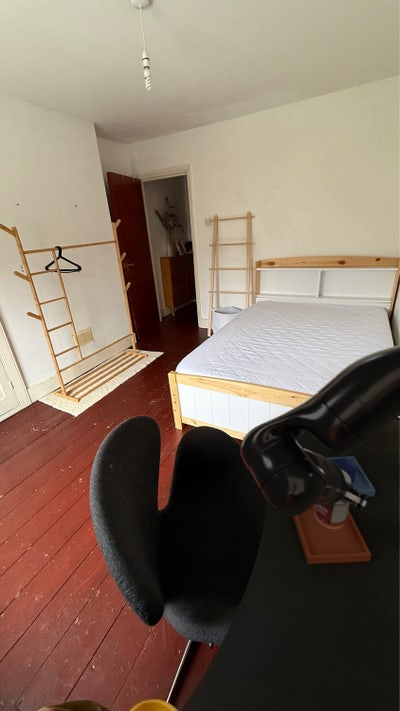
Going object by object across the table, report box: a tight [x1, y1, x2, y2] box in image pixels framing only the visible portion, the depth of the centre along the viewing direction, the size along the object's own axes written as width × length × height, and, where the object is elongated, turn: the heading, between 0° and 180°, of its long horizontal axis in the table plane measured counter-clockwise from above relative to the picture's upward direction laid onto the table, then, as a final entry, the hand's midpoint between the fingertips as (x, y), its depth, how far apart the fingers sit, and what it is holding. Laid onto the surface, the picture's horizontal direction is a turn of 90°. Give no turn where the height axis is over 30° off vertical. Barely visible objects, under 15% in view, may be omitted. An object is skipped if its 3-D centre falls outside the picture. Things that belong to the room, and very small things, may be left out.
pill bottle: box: [314, 470, 351, 529], centre depth 59 cm, size 6×6×11 cm
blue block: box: [332, 456, 357, 483], centre depth 76 cm, size 4×4×4 cm
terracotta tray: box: [292, 506, 372, 565], centre depth 64 cm, size 12×12×2 cm
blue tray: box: [326, 455, 376, 497], centre depth 76 cm, size 11×11×2 cm
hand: (336, 486), depth 60 cm, fingers closed on pill bottle, 6 cm apart
